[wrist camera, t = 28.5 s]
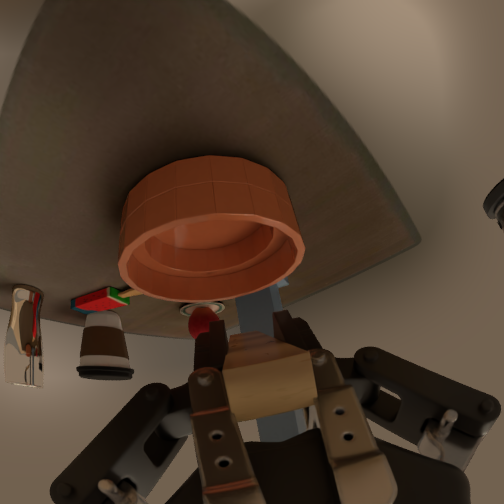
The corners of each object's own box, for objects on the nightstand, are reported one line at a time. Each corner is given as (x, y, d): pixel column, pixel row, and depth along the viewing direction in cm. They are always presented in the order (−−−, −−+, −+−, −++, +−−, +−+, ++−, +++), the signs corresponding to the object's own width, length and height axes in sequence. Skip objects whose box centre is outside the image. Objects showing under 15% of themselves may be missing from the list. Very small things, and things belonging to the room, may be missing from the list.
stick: (339, 398, 7) (330, 346, 7) (212, 426, 7) (199, 373, 7) (266, 346, 24) (263, 328, 25) (226, 353, 24) (223, 336, 24)
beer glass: (16, 278, 30) (10, 382, 23) (53, 292, 36) (51, 388, 29) (5, 290, 32) (-1, 381, 25) (37, 302, 38) (35, 388, 31)
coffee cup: (67, 314, 45) (67, 376, 39) (94, 300, 41) (95, 373, 35) (110, 325, 53) (113, 381, 48) (142, 314, 50) (147, 378, 44)
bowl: (210, 114, 17) (218, 176, 14) (314, 208, 29) (332, 259, 26) (94, 223, 24) (88, 280, 22) (205, 266, 36) (210, 310, 34)
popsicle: (154, 298, 39) (87, 315, 42) (153, 288, 40) (87, 307, 43) (135, 288, 35) (68, 308, 38) (135, 278, 36) (68, 299, 39)
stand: (290, 279, 46) (326, 449, 33) (245, 293, 48) (275, 457, 35) (266, 250, 36) (312, 477, 23) (210, 269, 38) (245, 482, 25)
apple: (225, 297, 48) (231, 334, 45) (222, 311, 55) (227, 343, 52) (178, 301, 46) (181, 339, 43) (181, 315, 53) (185, 347, 50)
